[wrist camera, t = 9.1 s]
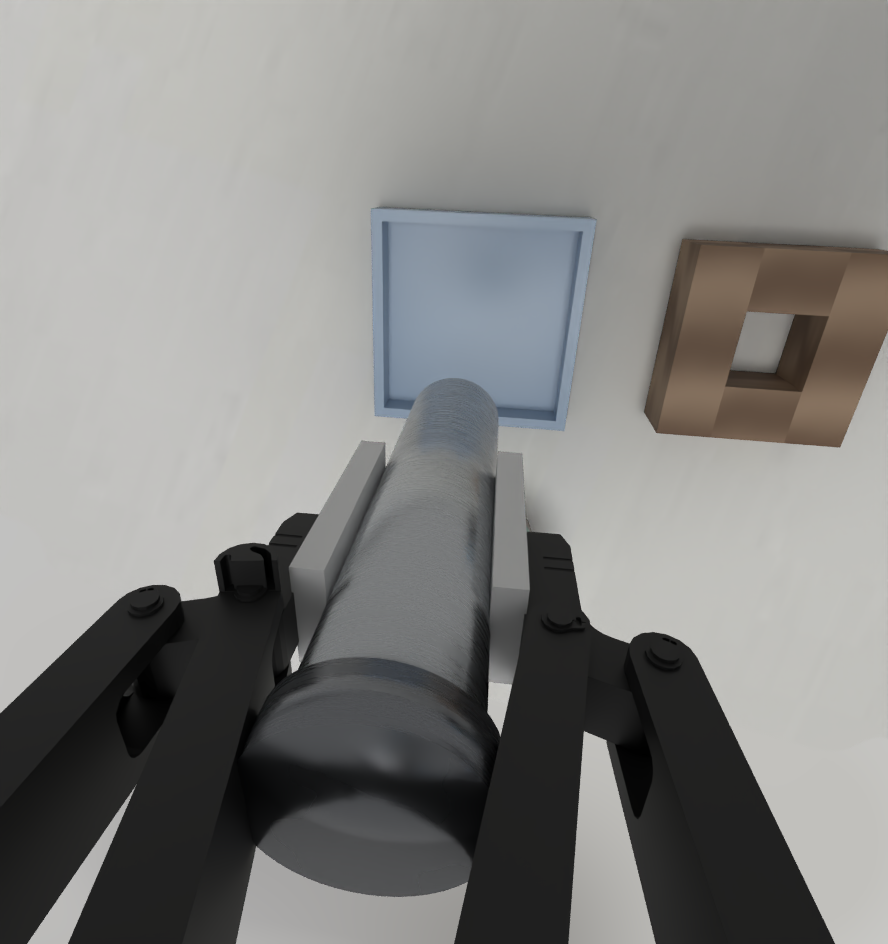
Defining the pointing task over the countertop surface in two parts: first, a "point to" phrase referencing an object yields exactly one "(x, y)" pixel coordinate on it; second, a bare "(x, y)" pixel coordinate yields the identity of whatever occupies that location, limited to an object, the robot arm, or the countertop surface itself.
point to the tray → (479, 308)
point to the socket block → (805, 353)
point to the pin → (393, 677)
